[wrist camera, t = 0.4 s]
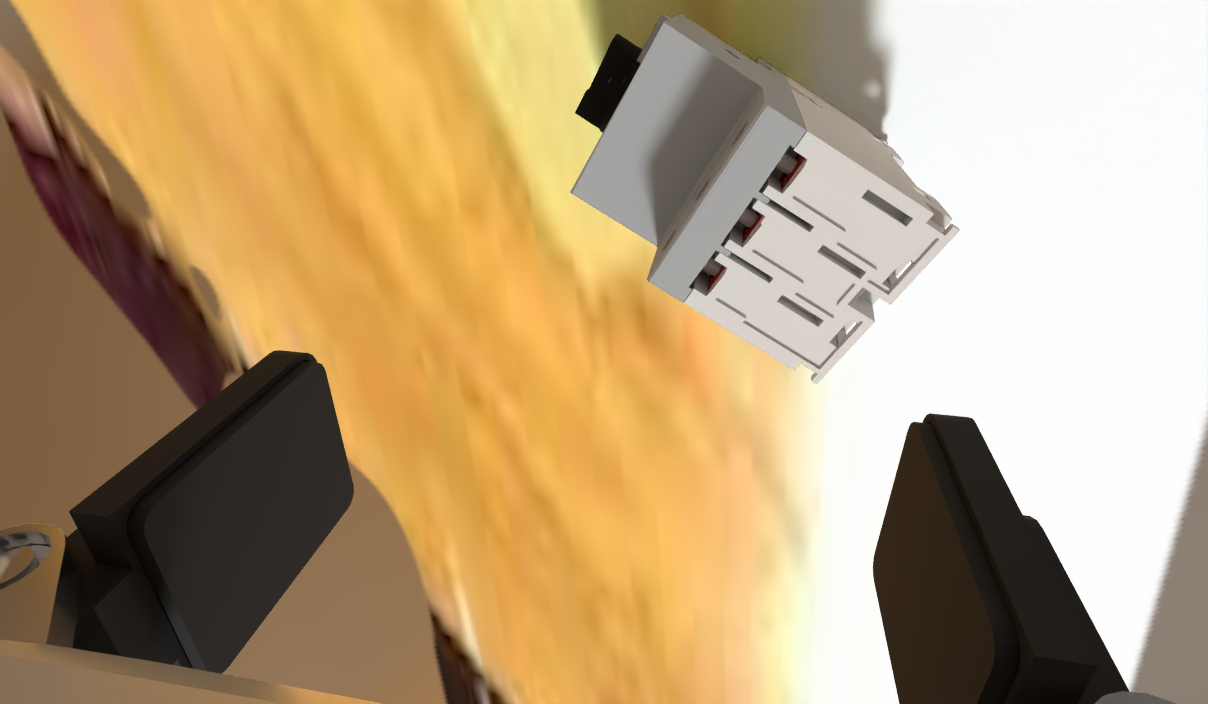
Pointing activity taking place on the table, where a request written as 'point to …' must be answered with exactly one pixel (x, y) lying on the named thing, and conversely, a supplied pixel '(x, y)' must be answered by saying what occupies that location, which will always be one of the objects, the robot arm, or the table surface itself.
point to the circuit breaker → (753, 194)
